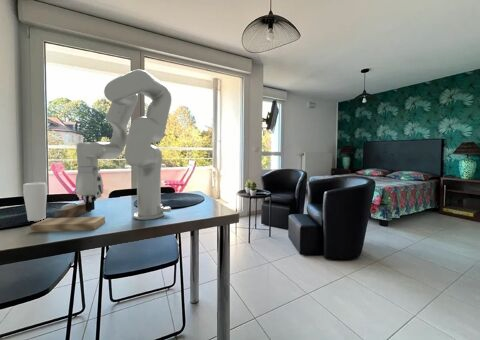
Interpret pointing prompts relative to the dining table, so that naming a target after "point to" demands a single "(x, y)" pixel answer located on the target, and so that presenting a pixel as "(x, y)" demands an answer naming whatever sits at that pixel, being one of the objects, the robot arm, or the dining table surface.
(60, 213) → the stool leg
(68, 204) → the stop block
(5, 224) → the dining table surface
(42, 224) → the board
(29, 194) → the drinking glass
